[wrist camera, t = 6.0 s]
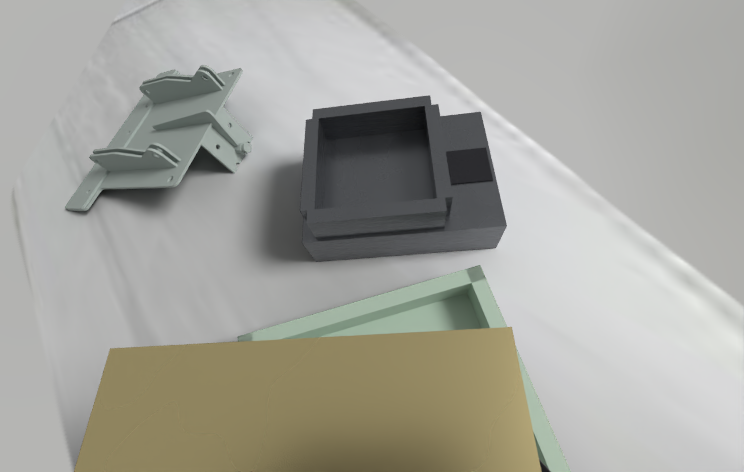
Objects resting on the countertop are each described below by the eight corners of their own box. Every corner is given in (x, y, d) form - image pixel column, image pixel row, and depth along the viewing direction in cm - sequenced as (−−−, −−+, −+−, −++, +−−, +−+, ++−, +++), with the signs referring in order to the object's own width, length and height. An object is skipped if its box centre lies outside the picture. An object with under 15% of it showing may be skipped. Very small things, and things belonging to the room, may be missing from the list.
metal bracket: (244, 26, 26) (140, 196, 20) (290, 89, 30) (216, 241, 24) (134, 61, 32) (32, 196, 26) (185, 108, 37) (108, 232, 31)
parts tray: (622, 634, 14) (661, 678, 12) (298, 731, 14) (275, 795, 12) (473, 279, 21) (479, 265, 19) (257, 343, 21) (237, 336, 19)
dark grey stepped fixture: (495, 248, 22) (515, 207, 17) (316, 261, 23) (290, 227, 18) (474, 142, 25) (486, 86, 21) (320, 159, 26) (300, 109, 22)
